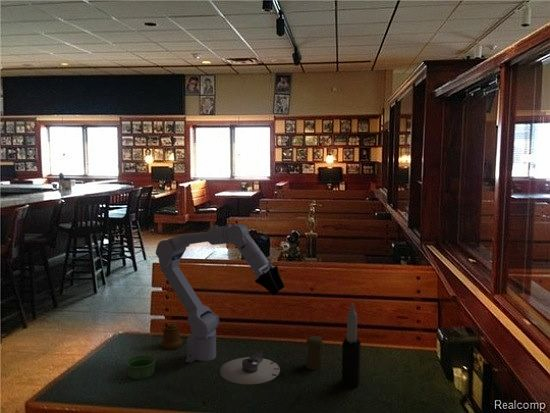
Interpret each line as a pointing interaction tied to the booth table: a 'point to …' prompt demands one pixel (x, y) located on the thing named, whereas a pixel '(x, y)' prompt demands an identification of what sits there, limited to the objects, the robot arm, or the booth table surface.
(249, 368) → the dial pointer
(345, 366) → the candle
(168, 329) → the ornamental finial
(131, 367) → the ramekin
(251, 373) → the dial plate
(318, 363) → the cork
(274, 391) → the booth table surface
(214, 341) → the robot arm
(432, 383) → the booth table surface
